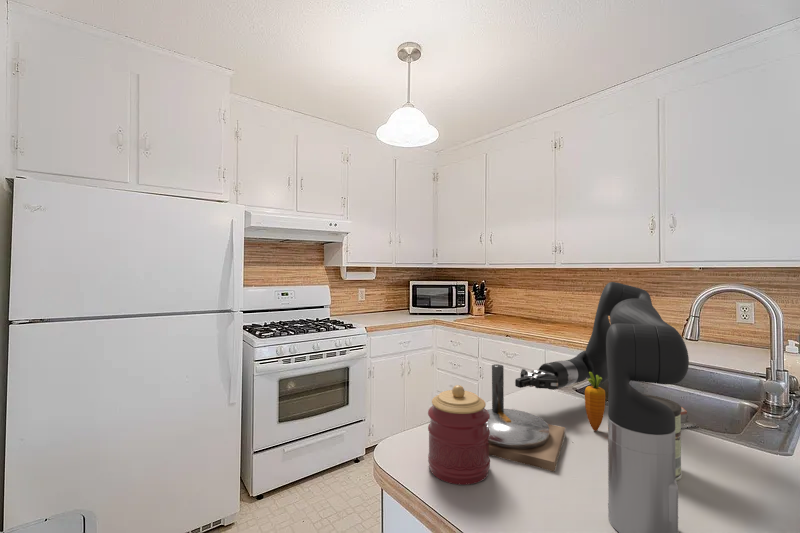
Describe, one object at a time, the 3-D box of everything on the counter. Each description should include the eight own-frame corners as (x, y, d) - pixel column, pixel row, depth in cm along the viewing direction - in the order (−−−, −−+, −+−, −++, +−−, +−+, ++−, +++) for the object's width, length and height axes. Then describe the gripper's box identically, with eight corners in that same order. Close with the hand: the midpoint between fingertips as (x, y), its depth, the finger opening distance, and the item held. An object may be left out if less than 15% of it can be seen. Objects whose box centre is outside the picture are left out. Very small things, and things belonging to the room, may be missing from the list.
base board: (565, 435, 93) (565, 426, 93) (554, 471, 76) (554, 460, 76) (477, 416, 104) (477, 408, 104) (451, 445, 88) (451, 435, 88)
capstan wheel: (564, 446, 83) (564, 384, 83) (488, 451, 80) (487, 387, 80) (527, 414, 101) (526, 363, 101) (463, 417, 98) (463, 365, 98)
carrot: (609, 436, 92) (608, 376, 92) (587, 434, 93) (587, 375, 93) (602, 427, 97) (602, 371, 97) (582, 426, 98) (581, 370, 98)
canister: (415, 466, 79) (415, 384, 79) (455, 447, 87) (455, 372, 87) (462, 495, 69) (461, 401, 69) (502, 470, 77) (502, 386, 77)
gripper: (540, 357, 116) (499, 364, 107) (578, 367, 104) (536, 376, 96) (540, 380, 116) (499, 390, 107) (578, 393, 104) (536, 404, 96)
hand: (517, 383), depth 102 cm, fingers closed
